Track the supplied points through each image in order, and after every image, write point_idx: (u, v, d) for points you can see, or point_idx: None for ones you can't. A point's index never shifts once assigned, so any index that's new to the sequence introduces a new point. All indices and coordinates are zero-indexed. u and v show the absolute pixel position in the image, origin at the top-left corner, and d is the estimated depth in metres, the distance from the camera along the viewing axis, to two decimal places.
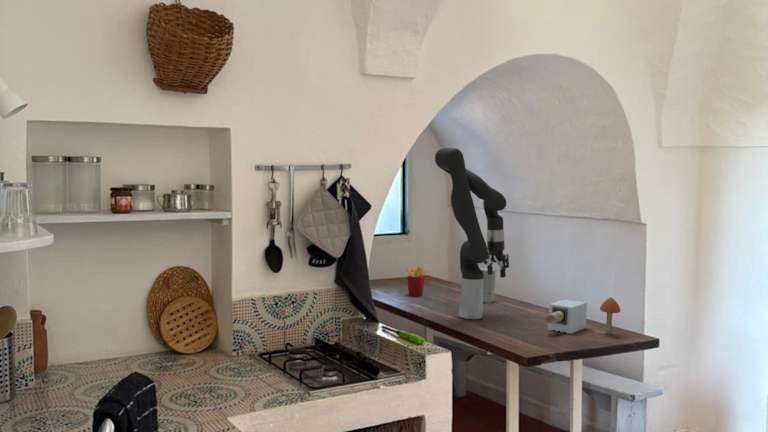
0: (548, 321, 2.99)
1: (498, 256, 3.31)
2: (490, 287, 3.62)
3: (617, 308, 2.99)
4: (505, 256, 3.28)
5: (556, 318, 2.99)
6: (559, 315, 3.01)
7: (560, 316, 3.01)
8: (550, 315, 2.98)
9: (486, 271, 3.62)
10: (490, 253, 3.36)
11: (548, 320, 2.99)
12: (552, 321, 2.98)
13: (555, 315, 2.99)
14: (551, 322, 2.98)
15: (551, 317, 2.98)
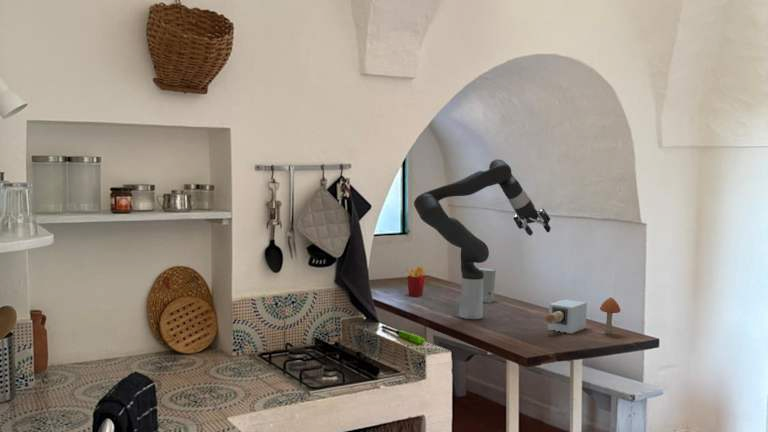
0: (548, 321, 2.99)
1: (534, 215, 3.02)
2: (490, 287, 3.62)
3: (617, 308, 2.99)
4: (542, 212, 2.99)
5: (556, 318, 2.99)
6: (559, 315, 3.01)
7: (560, 316, 3.01)
8: (550, 315, 2.98)
9: (486, 271, 3.62)
10: (522, 217, 3.05)
11: (548, 320, 2.99)
12: (552, 321, 2.98)
13: (555, 315, 2.99)
14: (551, 322, 2.98)
15: (551, 317, 2.98)
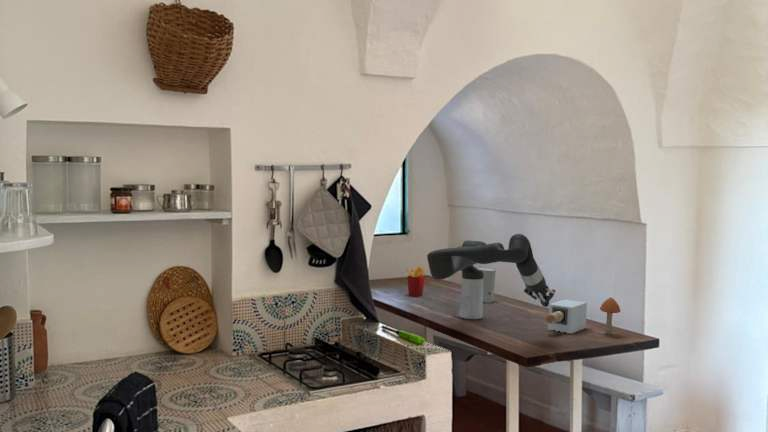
0: (548, 321, 2.99)
1: (544, 293, 2.86)
2: (490, 287, 3.62)
3: (617, 308, 2.99)
4: (553, 294, 2.85)
5: (556, 318, 2.99)
6: (559, 315, 3.01)
7: (560, 316, 3.01)
8: (550, 315, 2.98)
9: (486, 271, 3.62)
10: None
11: (548, 320, 2.99)
12: (552, 321, 2.98)
13: (555, 315, 2.99)
14: (551, 322, 2.98)
15: (551, 317, 2.98)
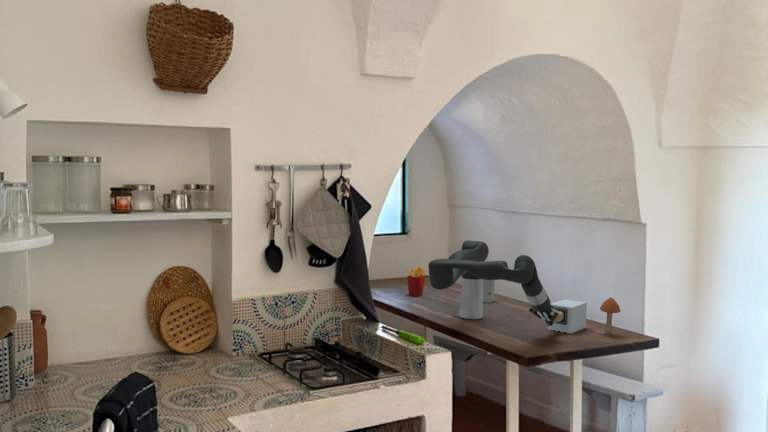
0: None
1: (549, 313, 2.90)
2: (490, 287, 3.62)
3: (617, 308, 2.99)
4: None
5: (556, 318, 2.99)
6: (559, 315, 3.01)
7: (560, 316, 3.02)
8: None
9: None
10: None
11: None
12: None
13: None
14: None
15: None
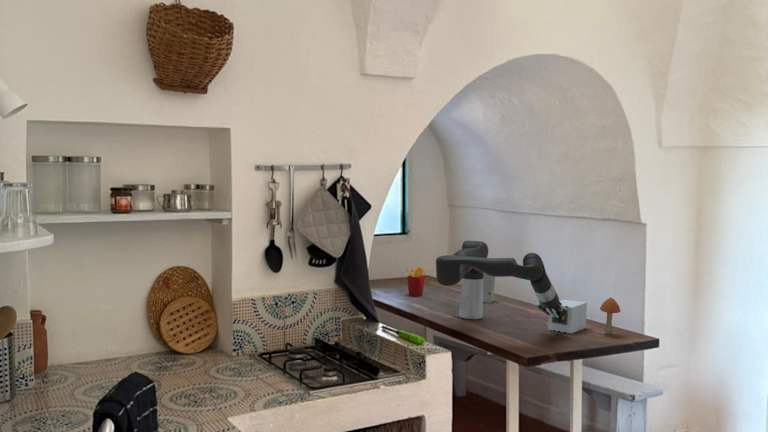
0: None
1: (557, 309, 2.97)
2: (490, 287, 3.62)
3: (617, 308, 2.99)
4: (566, 311, 2.96)
5: None
6: None
7: None
8: None
9: None
10: None
11: None
12: None
13: None
14: None
15: None
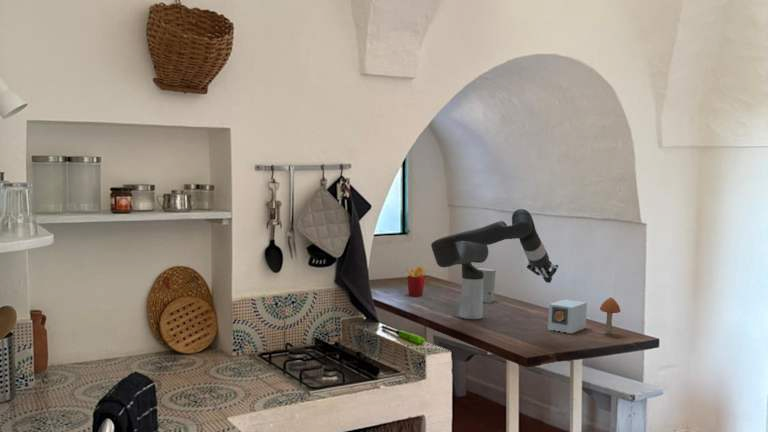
0: (557, 318, 3.05)
1: (547, 269, 2.88)
2: (490, 287, 3.62)
3: (617, 308, 2.99)
4: (556, 269, 2.87)
5: None
6: None
7: None
8: (559, 312, 3.05)
9: (486, 271, 3.62)
10: None
11: (558, 316, 3.05)
12: (561, 318, 3.04)
13: (564, 312, 3.05)
14: (560, 319, 3.05)
15: (560, 314, 3.04)
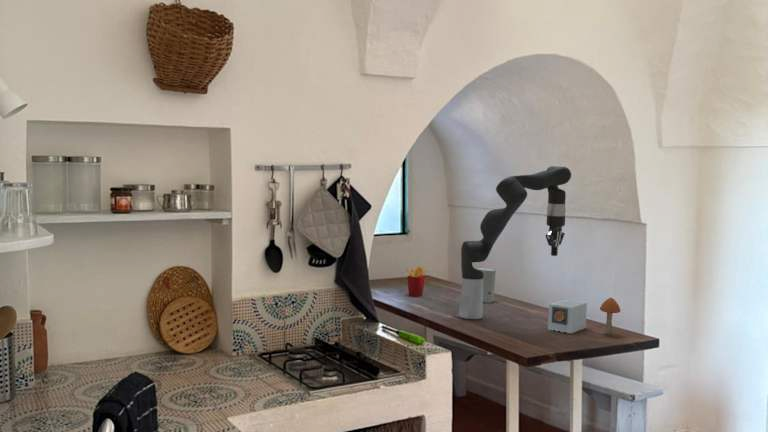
0: (557, 318, 3.05)
1: (560, 233, 3.19)
2: (490, 287, 3.62)
3: (617, 308, 2.99)
4: None
5: None
6: None
7: None
8: (559, 312, 3.05)
9: (486, 271, 3.62)
10: (554, 229, 3.15)
11: (558, 316, 3.05)
12: (561, 318, 3.04)
13: (564, 312, 3.05)
14: (560, 319, 3.05)
15: (560, 314, 3.04)
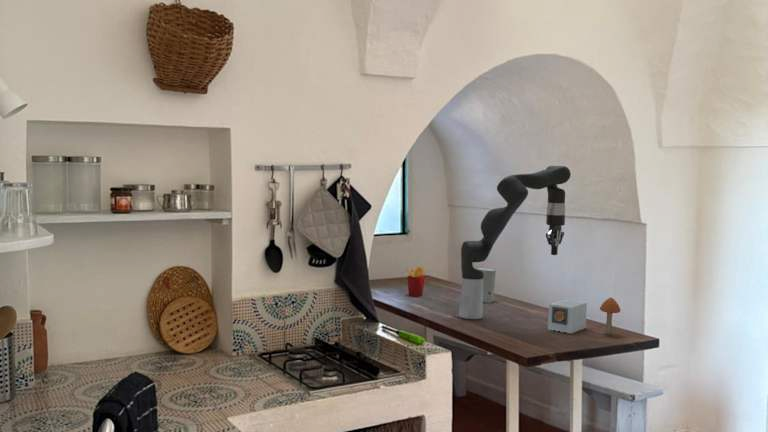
0: (557, 318, 3.05)
1: None
2: (490, 287, 3.62)
3: (617, 308, 2.99)
4: None
5: None
6: None
7: None
8: (559, 312, 3.05)
9: (486, 271, 3.62)
10: (554, 228, 3.16)
11: (558, 316, 3.05)
12: (561, 318, 3.04)
13: (564, 312, 3.05)
14: (560, 319, 3.05)
15: (560, 314, 3.04)
